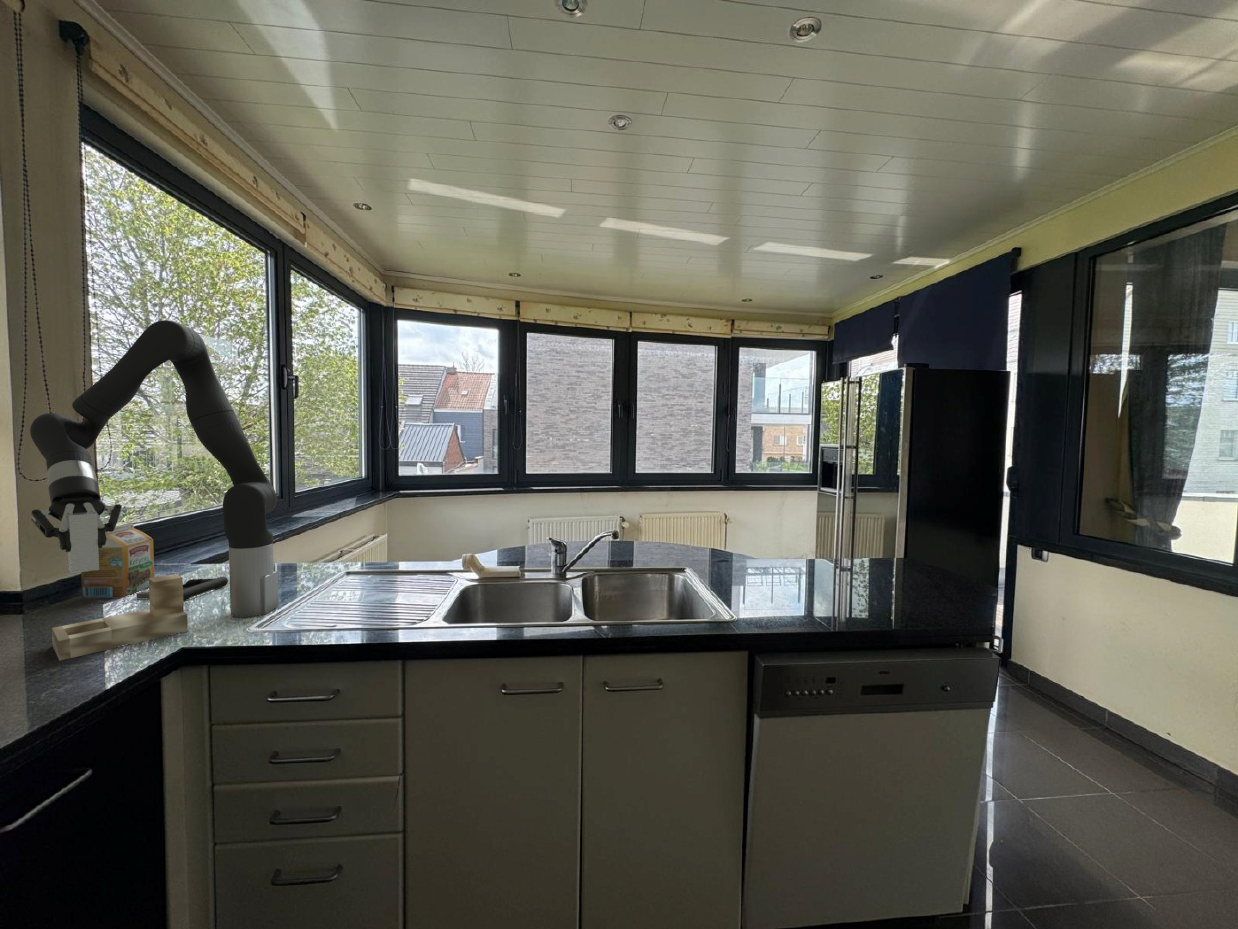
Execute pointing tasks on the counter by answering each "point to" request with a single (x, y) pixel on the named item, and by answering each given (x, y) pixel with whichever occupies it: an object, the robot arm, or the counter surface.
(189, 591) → the door handle
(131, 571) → the milk carton
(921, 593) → the counter surface
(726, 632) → the counter surface
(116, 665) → the counter surface
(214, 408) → the robot arm
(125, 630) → the post base
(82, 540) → the square post
